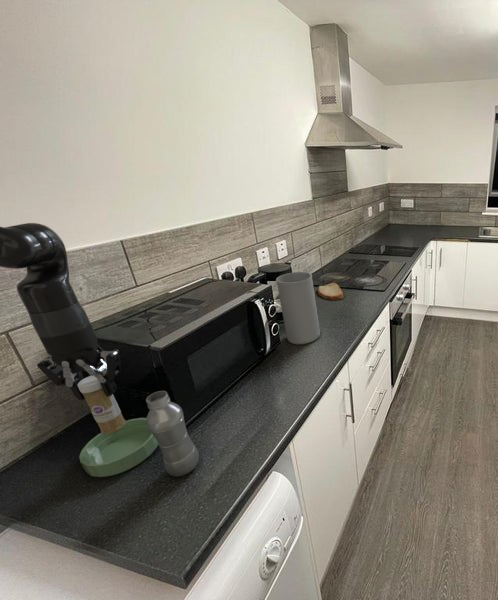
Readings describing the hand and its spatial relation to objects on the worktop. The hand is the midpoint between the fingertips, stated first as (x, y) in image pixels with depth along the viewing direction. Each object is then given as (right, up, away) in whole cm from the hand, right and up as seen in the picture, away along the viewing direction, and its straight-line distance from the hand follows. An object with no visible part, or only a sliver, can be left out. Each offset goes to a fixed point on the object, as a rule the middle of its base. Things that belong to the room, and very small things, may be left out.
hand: (97, 395), depth 70 cm
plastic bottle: (+18, -17, +2) cm, 25 cm away
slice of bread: (+30, +24, +100) cm, 107 cm away
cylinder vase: (+29, +6, +57) cm, 64 cm away
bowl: (+1, -16, +7) cm, 17 cm away
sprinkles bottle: (0, -9, +4) cm, 10 cm away
